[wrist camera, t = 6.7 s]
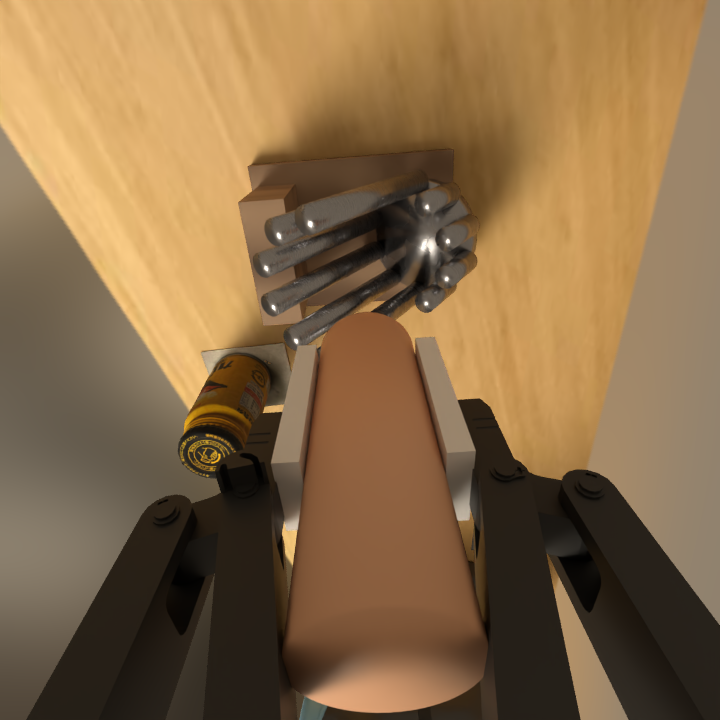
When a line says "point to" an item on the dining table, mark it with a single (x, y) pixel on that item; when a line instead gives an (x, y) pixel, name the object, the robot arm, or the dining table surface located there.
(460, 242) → the socket
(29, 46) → the dining table surface
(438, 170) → the socket base
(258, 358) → the condiment
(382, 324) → the peg
